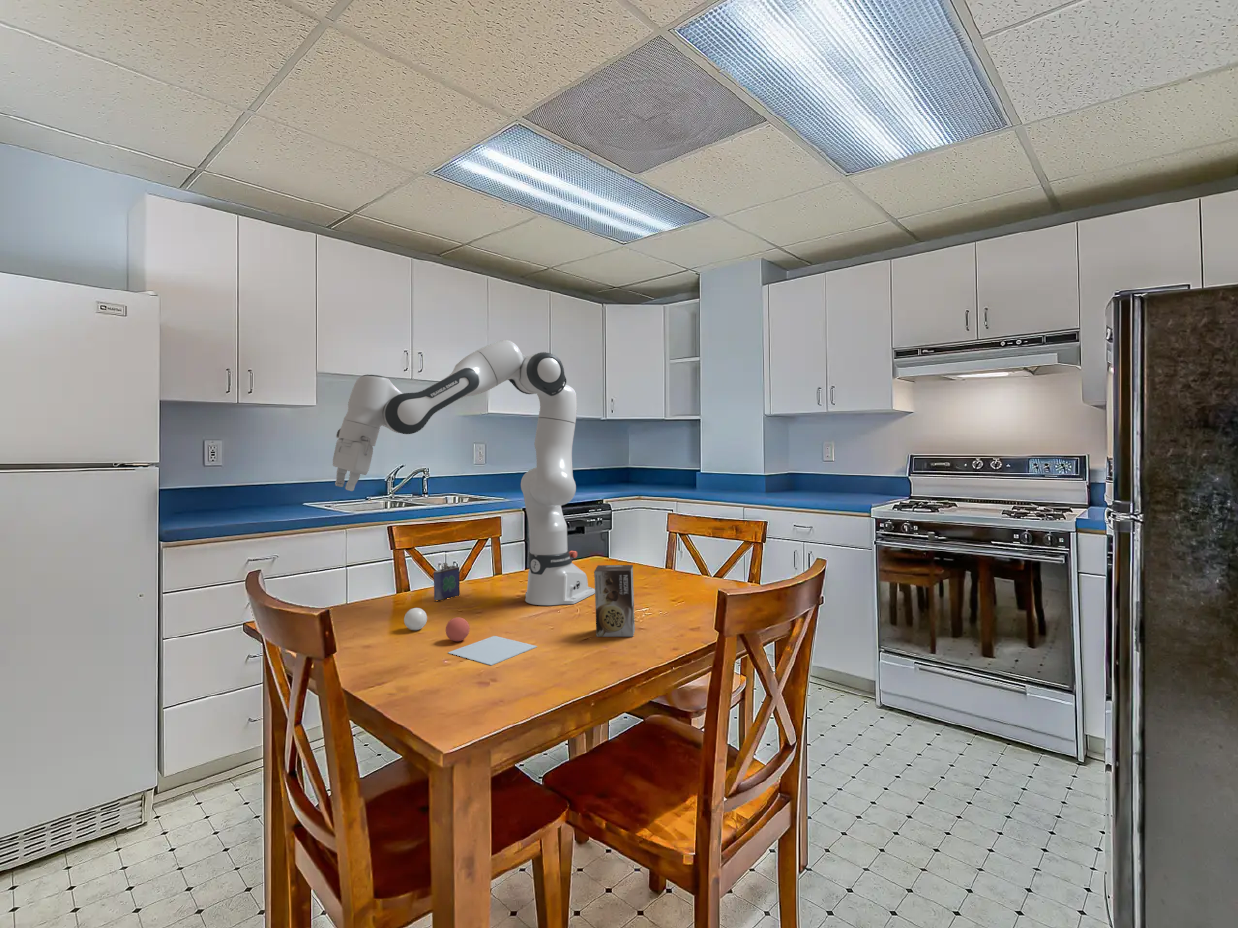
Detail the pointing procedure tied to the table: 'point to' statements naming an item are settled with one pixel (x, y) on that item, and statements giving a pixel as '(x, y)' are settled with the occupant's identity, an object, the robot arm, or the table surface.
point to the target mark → (492, 650)
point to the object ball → (457, 629)
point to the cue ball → (415, 619)
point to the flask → (446, 582)
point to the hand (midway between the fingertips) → (343, 488)
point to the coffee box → (614, 601)
